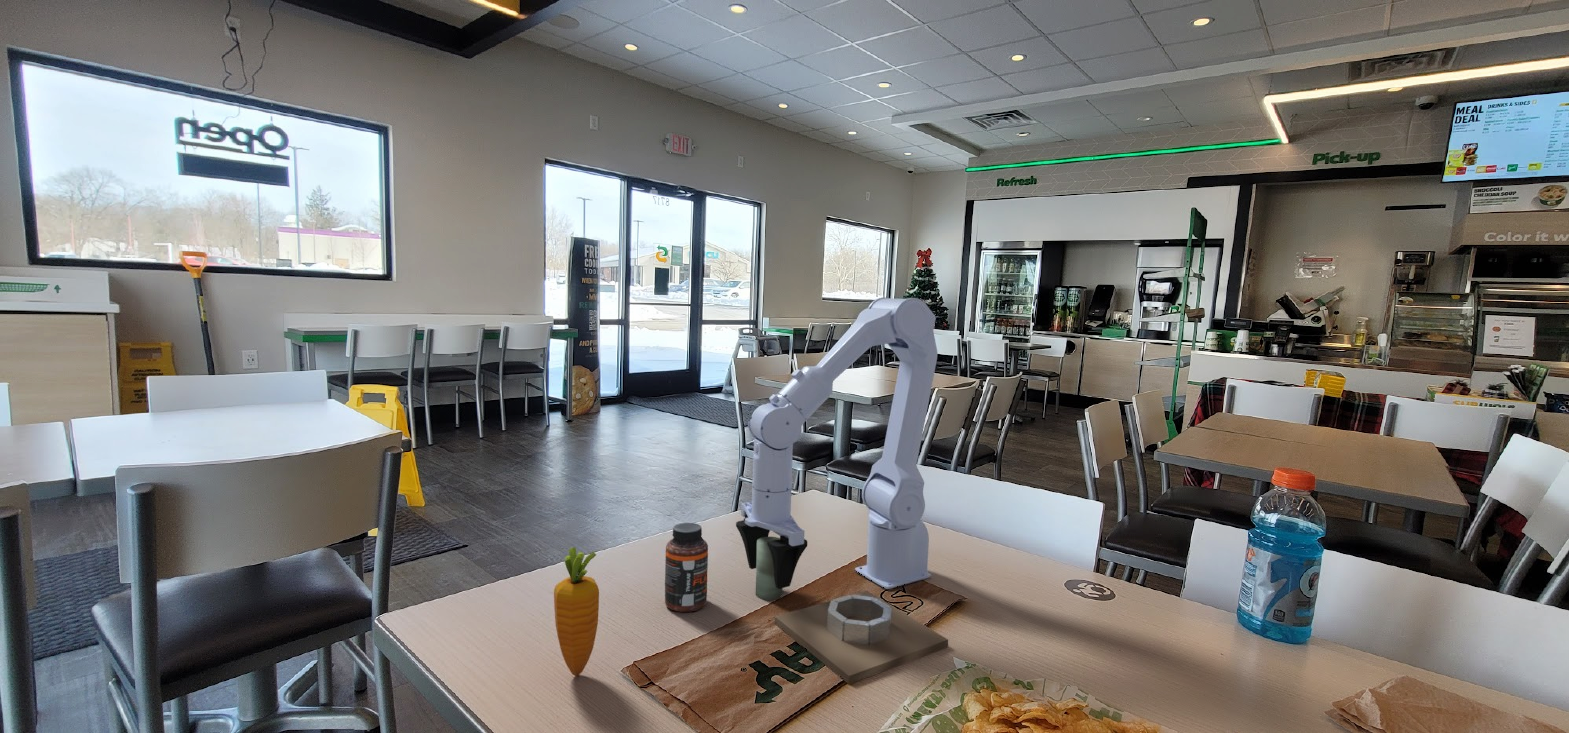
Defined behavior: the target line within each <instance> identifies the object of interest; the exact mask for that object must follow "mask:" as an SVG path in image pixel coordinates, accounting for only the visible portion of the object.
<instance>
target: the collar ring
mask: <svg viewBox="0 0 1569 733" xmlns="http://www.w3.org/2000/svg"><path fill="white" fill-rule="evenodd" d="M851 595H852V596H851ZM830 601H831V600H830ZM850 616H858V617H866V618H871V619H873V620H871V621H868V622H866V621H859V620H851V619H847V618H846V617H850ZM890 627H891V607H890V606H888V605H887V604H885V603H883V602H882V601H880V600H878V599H877V598H874V597H867V596H859V595H853V594H848V595H843V596H840V597H837V598H832V601H831V602H830V606H829V609H828V619H827V629H828V631H829V632H831V633H832V634H833V635H835V636H836V637H837V638H839V639H840V640H841V641H843V640H844V642H850V643H858V644H865V645H868V644H870V645H871V644H874V643H877V642H880V641H883V640H886V639H888V638H889V636H890Z"/></svg>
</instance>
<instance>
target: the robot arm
mask: <svg viewBox="0 0 1569 733" xmlns="http://www.w3.org/2000/svg"><path fill="white" fill-rule="evenodd" d="M936 318H937V317H936V315H934V313H933V312H932V310H931V309H930V308H929V306H928V304H926V303H925V302H924V301H923V300H922V299H919V298H916V297H907V298H890V297H882V296H881V297H878V298H876V299H874V300H873V301H872V302H871V303H870V304H869V305H868V307H867V308H865V309H863V310H862V311H861V312H859V313H858V316H857V318H856V319H855V321H854V323H852V325H851V326H849V328H848V329H847V330H846V331H845V333H844V334H843V335H842V336H841V337H840V339H839V340H838V341H837V342H836V343H835V344H834V345H833V346H832V348H830V350H828V352H827V353H826V354H825V355H824V356H823V357H822V359H821V360H820V361H819V362H818V363H817V364H816V365H815V366H811V365H810V366H809V365H807V366H803V367H802V369H797V368H796V369H795V370H794V371H792V373H791V377H792V379H790V381H788V383H786V384H785V385H784V386H783V388H781V390H779V392H777V393H776V394H774V393H773V394H772V395H770V397H768V399H769V401H770V402H768V403H764V404H761V405H760V406H757V408H756V409H754V411H753V413H752V414H751V418H750V421H747V428H748V431H749V434H751V436H752V437H753V455H752V483H751V484H752V486H751V487H752V488H751V489H752V490H751V492H752V493H751V501H748V502H742V503H740V504H741V505H740V516H742V517H744V518H743V520H739V521H736V522H735V527H736V528H737V531H738V532H739V534H740V537H741V540H742V542H743V546H744V548H745V549H744V550H745V553H746V554H745V555H746V559H747V564H748V567H749V569H751V570H754V569H755V570H756V557H757V540H758V539H759V538H762V537H769V535H770V532H773V533H775V534H776V535H778V536H779V538H780V540H779V539H778V540H773V541H768V542H767V545H768V547H769V549H770V552H771V555H772V559H773V565H774V580H775V585H776V588H778V589H781V588H783V589H785V588H788V587H791V584H792V581H793V577H794V574H795V571H796V568H797V564H798V562H799V561H800V558H801V557H802V554H803V553H804V552H805V550H806V548H807V547H808V540H807V539H805V530H804V529H803V528H801V527H800V526H799V524H798V523H797V522H796V520H795V518H794V517H793V516H792V514H791V512H792V483H793V482H792V481H793V458H794V457H793V450H794V449H793V446H794V445H793V444H794V443H797V441H798V440H799V438H800V436H801V432H802V426H803V424H805V422H806V421H808V420H809V419H810V417H812V415H813V414H814V413H816V411H817V410H818V409H819V408H820V407H821V406H822V405H823V404H824V403H825V402H826V401H827V400H828V399H829V398H830V397H831V395H832V394H833V389H834V387H833V385H834V384H833V383H834V381H835V380H836V379H838V377H839V376H840V375H841V374H843V373H844V372H845V371H846V370H847V369H849V367H850V366H852V365H853V364H854V363H855V362H856V361H857V360H858V359H860V357H861V356H862V355H863V354H865V352H866V351H868V350H869V349H870V348H872V347H875V346H882V345H887V346H889V347H890V349H891V351H893V353H894V355H895V356H896V358H898V360H899V367H898V372H897V377H896V382H895V388H894V393H893V397H892V402H891V408H890V412H889V414H890V415H889V419H888V424H887V429H886V432H885V433H886V434H885V439H884V445H883V450H882V455H881V457H880V458H879V459H878V460H877V461H875V462H874V464H872V466H871V470H870V474H869V476H868V477H867V479H866V480H865V482H864V484H863V486H862V488H861V489H862V490H861V498H862V502H863V504H864V505H865V506H866V507H867V509H868V512H867V515H868V524H867V526H868V527H867V531H868V532H867V550H866V551H867V554H866V564H865V565H861V566H856V567H855V568H854V571H855V570H856V571H857V572H856V571H855V572H856V573H858V572H859V573H860V574H859V573H858V574H859V575H861V574H862V575H861V576H863V577H864V576H865V577H864V578H866V579H868V580H869V581H871V580H872V581H871V582H873V583H874V584H876V585H878V586H880V587H882V588H883V587H884V588H883V589H885V590H891V589H894V588H897V586H898V587H901V586H904V584H905V585H909V584H911V583H915V582H919V581H921V580H925V579H929V578H930V577H931V576H932V574H931V573H930V572H928V562H929V543H930V541H929V540H930V537H929V532H928V528H927V526H926V524H925V523H924V522H923V521H922V518H923V516H924V513H925V510H926V503H925V502H926V501H925V497H924V487H925V481H924V479H923V477H922V474H921V472H920V470H919V468H918V465H917V464H918V459H919V454H920V449H921V443H922V438H923V432H924V428H925V423H926V419H927V418H926V417H927V412H928V407H929V403H930V402H929V401H930V396H931V391H932V386H933V382H934V376H935V370H936V366H937V360H938V348H937V343H936V338H935V333H934V329H935V323H936ZM860 568H862V569H860Z"/></svg>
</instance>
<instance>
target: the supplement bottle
mask: <svg viewBox="0 0 1569 733" xmlns="http://www.w3.org/2000/svg"><path fill="white" fill-rule="evenodd" d="M702 533H703V531H702V525H700V524H699V523H696V522H695V523H694V522H681V523H680V522H679V523H677V524H675V525H673V527H672V537H673V538H672V539H670V540H669V541H667V543H666V546H665V560H664V561H665V562H664V563H665V570H664V571H665V572H664V573H665V574H664V576H665V577H664V578H665V580H664V603H665V606H666V607H667V608H668V609H670V610H672V611H674V612H675V611H676V612H681V613H689V612H695V611H698V610H700V609H702V607H704V606H705V605H706V604H707V598H708V567H709V564H708V562H709V546H708V542H707V540H705V539H704V538H703V537H702V535H703V534H702Z"/></svg>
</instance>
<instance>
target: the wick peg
mask: <svg viewBox="0 0 1569 733" xmlns="http://www.w3.org/2000/svg"><path fill="white" fill-rule="evenodd" d="M778 539H779V540H780V537H777V536H768V537H762V538H759V539H758V540H757V557H756V568H755V596H756V597H757V598H759V599H761V600H766V601H772V600H778V599H780V598H782V597H783V594H784V593H783V592H784V591H783V589H784V588H781V589H778V588H776V585H775V580H774V565H773V559H772V555H771V552H770V549H769V547H768V545H767V542H768V541H773V540H778Z"/></svg>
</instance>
